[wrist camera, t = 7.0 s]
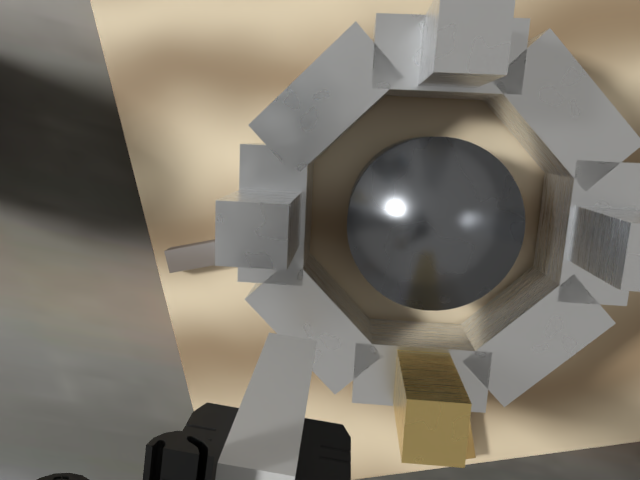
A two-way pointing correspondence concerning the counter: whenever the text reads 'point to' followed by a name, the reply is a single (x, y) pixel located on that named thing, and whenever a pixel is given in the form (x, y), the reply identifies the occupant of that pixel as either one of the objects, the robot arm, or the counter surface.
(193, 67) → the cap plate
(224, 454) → the robot arm
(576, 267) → the ring nut
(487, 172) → the dark grey dome
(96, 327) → the counter surface
